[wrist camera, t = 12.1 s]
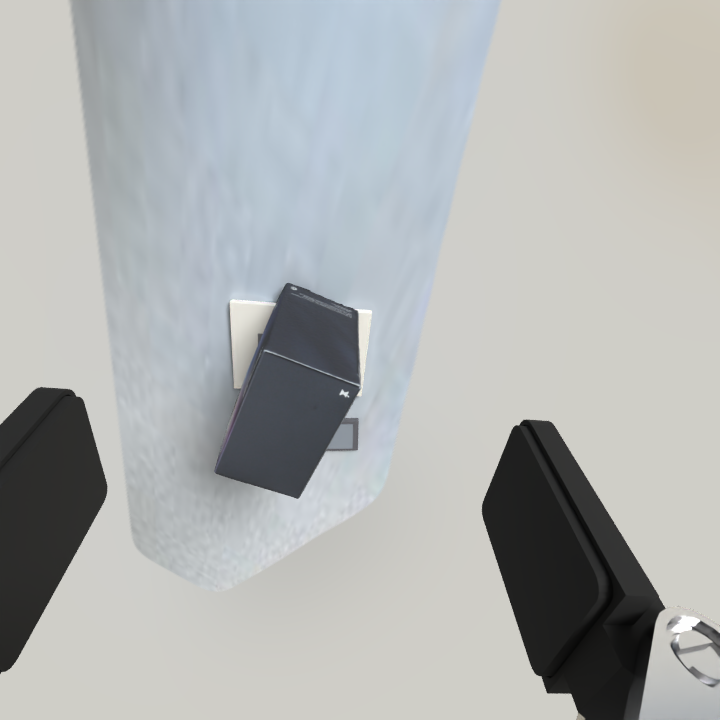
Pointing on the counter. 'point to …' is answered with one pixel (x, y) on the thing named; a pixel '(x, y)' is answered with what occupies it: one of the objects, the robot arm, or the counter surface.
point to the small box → (293, 393)
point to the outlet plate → (251, 325)
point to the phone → (346, 436)
